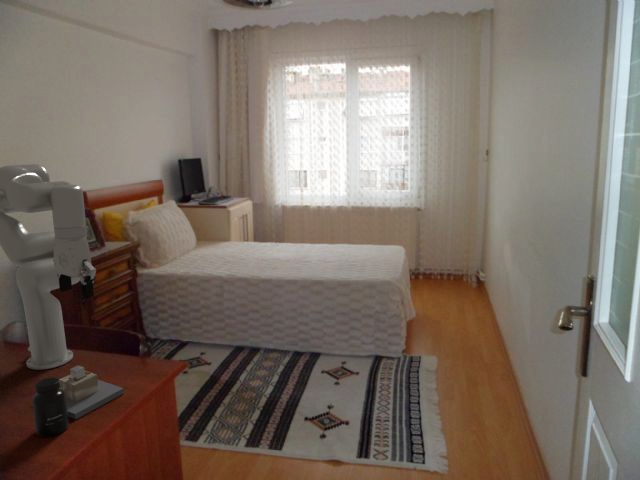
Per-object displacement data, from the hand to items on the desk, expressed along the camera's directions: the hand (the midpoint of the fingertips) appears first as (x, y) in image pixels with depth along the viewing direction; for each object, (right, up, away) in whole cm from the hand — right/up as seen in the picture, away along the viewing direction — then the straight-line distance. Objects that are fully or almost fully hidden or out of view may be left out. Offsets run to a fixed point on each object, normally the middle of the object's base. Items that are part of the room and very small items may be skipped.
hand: (76, 294), depth 132 cm
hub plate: (+3, -27, -4) cm, 27 cm away
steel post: (+3, -25, -5) cm, 26 cm away
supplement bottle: (+4, -30, -18) cm, 35 cm away
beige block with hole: (+3, -25, -5) cm, 26 cm away
